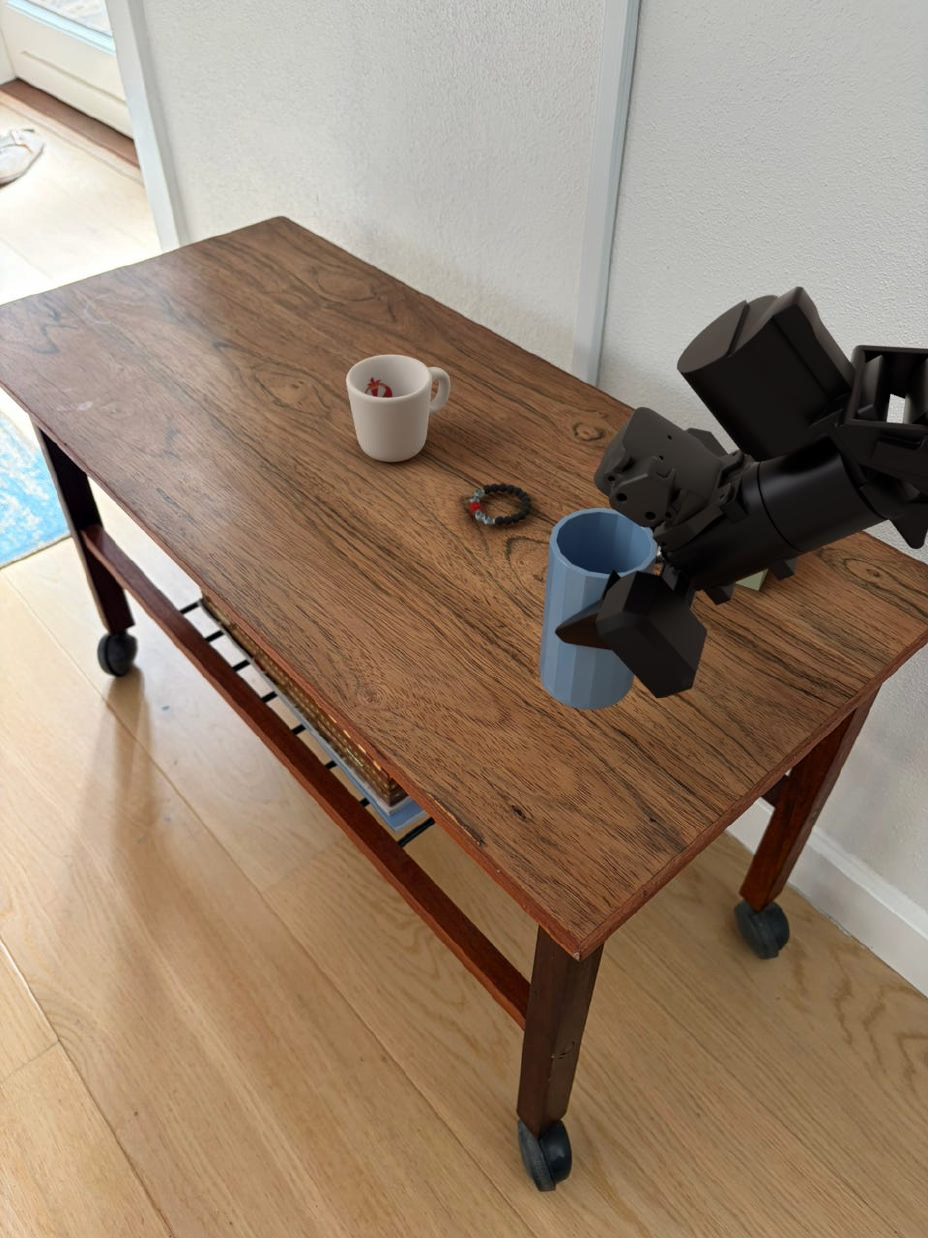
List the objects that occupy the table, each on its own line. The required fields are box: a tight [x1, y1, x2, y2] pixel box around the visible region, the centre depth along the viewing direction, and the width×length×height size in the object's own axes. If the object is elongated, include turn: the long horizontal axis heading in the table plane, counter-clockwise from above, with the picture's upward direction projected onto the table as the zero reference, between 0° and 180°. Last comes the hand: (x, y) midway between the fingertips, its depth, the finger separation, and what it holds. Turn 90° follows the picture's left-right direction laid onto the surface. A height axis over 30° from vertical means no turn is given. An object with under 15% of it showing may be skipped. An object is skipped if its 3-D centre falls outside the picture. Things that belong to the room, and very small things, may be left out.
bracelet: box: [469, 482, 533, 527], centre depth 93 cm, size 6×6×1 cm
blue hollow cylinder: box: [538, 507, 658, 711], centre depth 66 cm, size 6×6×12 cm
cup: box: [345, 354, 451, 463], centre depth 98 cm, size 11×8×8 cm
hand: (574, 599), depth 66 cm, fingers closed on blue hollow cylinder, 6 cm apart
